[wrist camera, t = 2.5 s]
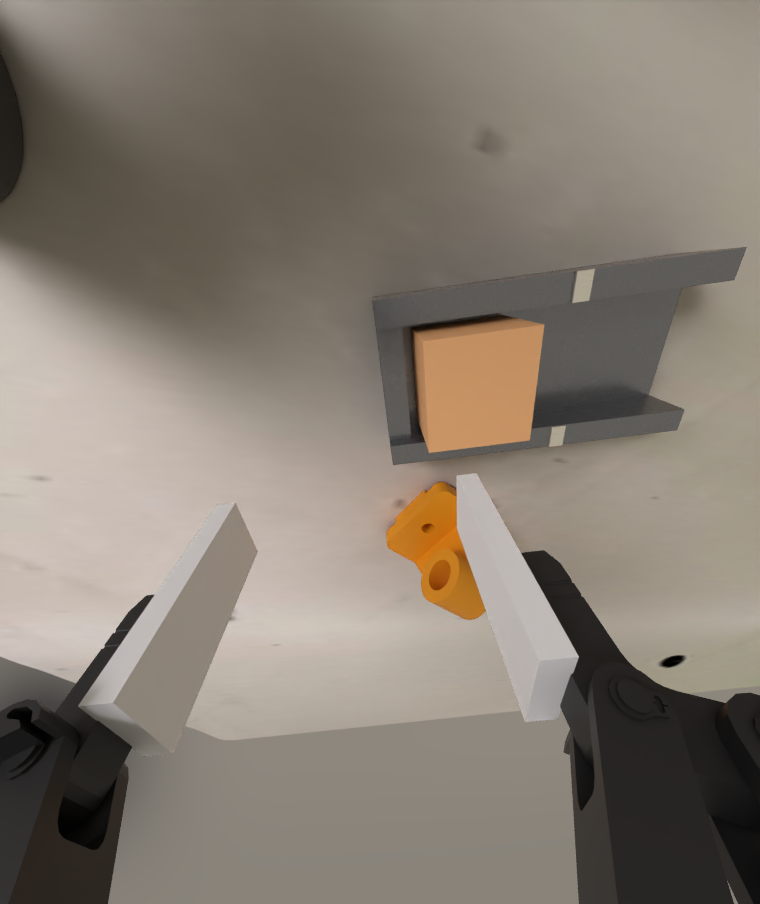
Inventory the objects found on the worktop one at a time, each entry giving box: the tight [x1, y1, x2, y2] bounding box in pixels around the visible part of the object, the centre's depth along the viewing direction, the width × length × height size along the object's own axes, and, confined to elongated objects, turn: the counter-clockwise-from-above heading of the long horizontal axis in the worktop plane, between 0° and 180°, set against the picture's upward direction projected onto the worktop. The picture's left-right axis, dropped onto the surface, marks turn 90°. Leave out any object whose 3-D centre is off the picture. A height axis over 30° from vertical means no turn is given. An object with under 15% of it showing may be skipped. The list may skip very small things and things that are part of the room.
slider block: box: [411, 315, 544, 453], centre depth 25 cm, size 8×9×7 cm
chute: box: [372, 247, 747, 465], centre depth 27 cm, size 26×14×6 cm, turn 97°
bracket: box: [386, 482, 486, 620], centre depth 34 cm, size 11×7×12 cm, turn 142°
